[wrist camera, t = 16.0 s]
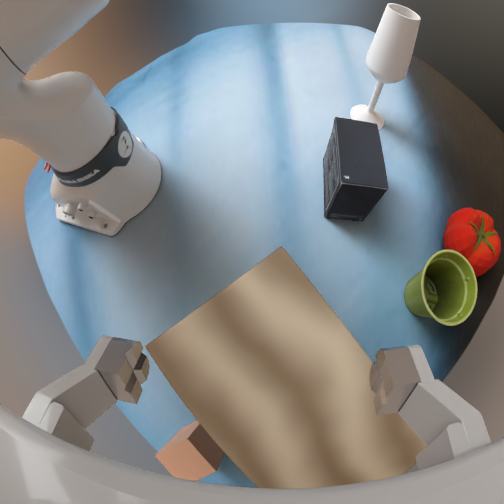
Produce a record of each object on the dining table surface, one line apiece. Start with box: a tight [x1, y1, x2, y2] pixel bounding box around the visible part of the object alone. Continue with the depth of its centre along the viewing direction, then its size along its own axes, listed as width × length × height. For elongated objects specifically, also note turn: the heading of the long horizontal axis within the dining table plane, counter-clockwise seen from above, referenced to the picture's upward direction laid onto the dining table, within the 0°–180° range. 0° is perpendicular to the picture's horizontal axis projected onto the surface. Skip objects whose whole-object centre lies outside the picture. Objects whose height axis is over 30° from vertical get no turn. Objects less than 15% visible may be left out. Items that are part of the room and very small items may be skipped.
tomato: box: [443, 208, 501, 276], centre depth 34 cm, size 11×11×8 cm
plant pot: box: [404, 250, 477, 326], centre depth 32 cm, size 9×9×9 cm
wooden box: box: [145, 246, 426, 489], centre depth 27 cm, size 14×24×16 cm, turn 37°
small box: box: [323, 117, 388, 221], centre depth 36 cm, size 11×6×10 cm, turn 175°
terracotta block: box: [155, 420, 224, 481], centre depth 28 cm, size 5×5×10 cm
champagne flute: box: [350, 3, 421, 130], centre depth 33 cm, size 7×7×24 cm
